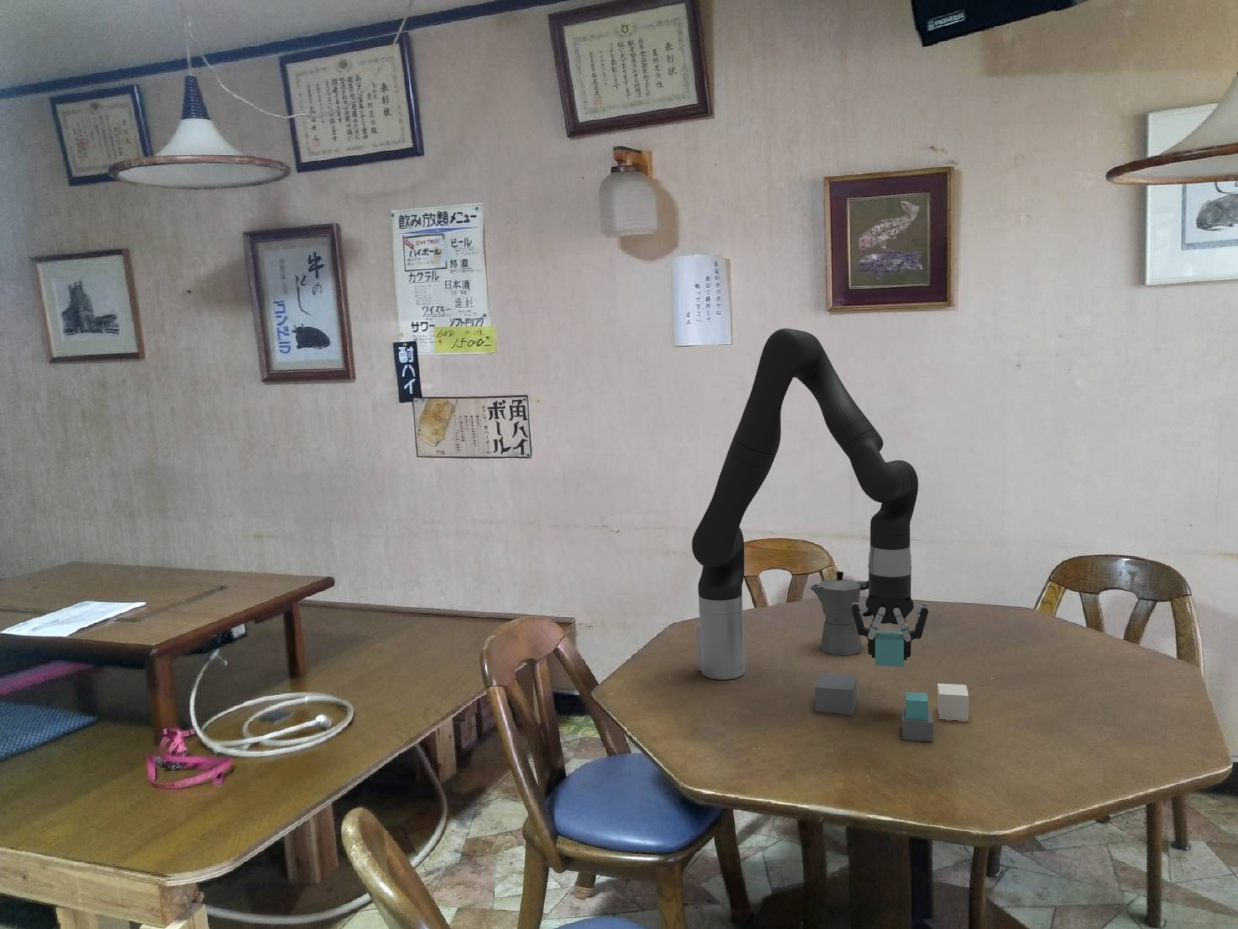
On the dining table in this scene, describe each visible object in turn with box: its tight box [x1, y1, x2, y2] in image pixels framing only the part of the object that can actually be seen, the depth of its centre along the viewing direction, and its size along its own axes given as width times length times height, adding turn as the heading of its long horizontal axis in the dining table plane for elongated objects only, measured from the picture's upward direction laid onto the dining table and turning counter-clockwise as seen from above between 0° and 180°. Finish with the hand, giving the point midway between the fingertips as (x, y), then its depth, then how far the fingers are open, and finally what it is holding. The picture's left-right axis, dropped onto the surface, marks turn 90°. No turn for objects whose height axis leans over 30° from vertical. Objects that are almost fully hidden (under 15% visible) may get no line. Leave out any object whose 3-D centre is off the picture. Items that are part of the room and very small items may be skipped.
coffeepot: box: [809, 571, 873, 657], centre depth 198 cm, size 15×9×18 cm, turn 87°
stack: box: [901, 691, 934, 742], centre depth 155 cm, size 5×5×7 cm
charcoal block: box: [814, 672, 858, 716], centre depth 169 cm, size 7×7×5 cm
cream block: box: [937, 683, 970, 722], centre depth 163 cm, size 5×5×5 cm
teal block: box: [874, 629, 905, 668], centre depth 164 cm, size 5×5×5 cm
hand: (889, 657), depth 165 cm, fingers closed on teal block, 5 cm apart
